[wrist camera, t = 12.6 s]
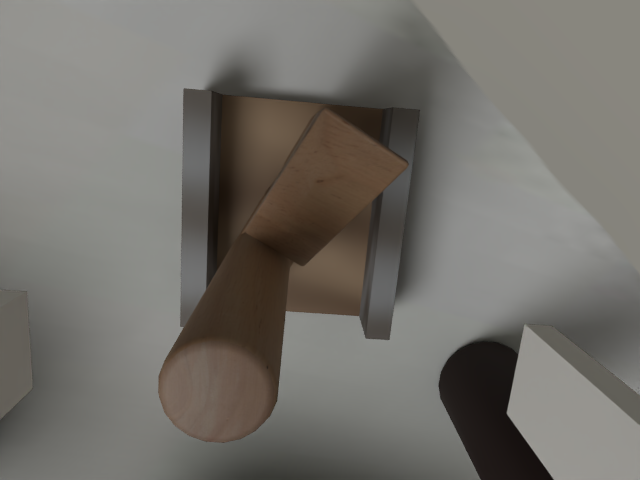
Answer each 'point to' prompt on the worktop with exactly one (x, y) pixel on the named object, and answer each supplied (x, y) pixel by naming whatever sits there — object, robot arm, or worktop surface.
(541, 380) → the robot arm
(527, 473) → the bottle
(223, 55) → the worktop surface
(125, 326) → the worktop surface
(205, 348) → the brown upright wooden piece
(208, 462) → the worktop surface
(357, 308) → the metal-railed wooden board
